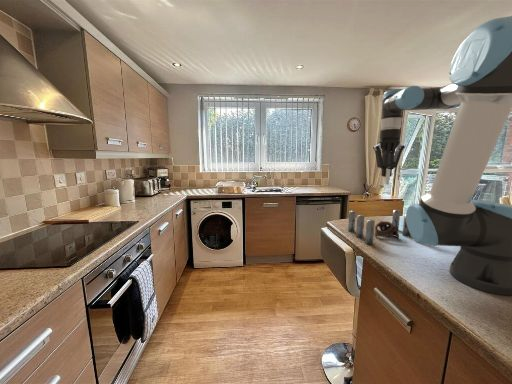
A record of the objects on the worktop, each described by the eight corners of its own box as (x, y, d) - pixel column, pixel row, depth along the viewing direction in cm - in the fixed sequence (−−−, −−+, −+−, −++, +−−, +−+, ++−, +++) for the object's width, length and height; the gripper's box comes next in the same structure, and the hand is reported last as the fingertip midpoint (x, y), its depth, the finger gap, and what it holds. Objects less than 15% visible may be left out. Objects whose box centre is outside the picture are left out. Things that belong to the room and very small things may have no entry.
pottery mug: (405, 242, 95) (400, 227, 92) (383, 250, 97) (377, 236, 94) (391, 226, 106) (386, 213, 103) (371, 234, 108) (366, 221, 105)
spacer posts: (426, 243, 92) (428, 220, 90) (367, 245, 91) (369, 221, 89) (395, 228, 110) (397, 209, 109) (346, 230, 110) (347, 210, 108)
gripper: (399, 130, 98) (394, 182, 102) (370, 130, 98) (366, 183, 102) (411, 128, 91) (405, 184, 95) (380, 128, 90) (376, 185, 94)
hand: (385, 183), depth 98 cm, fingers closed
